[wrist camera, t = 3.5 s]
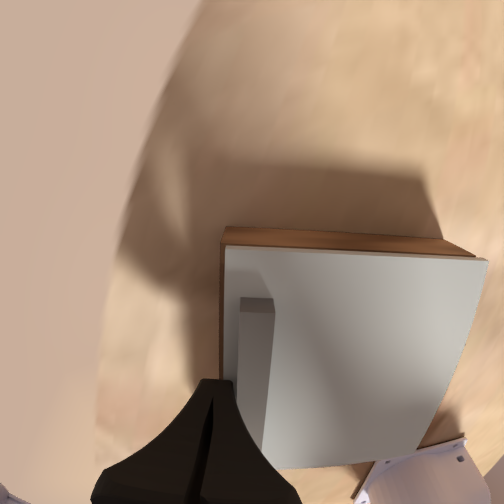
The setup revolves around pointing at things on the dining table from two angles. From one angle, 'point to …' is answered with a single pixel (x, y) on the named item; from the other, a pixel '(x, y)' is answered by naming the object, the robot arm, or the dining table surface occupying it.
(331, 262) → the lid
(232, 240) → the box
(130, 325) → the dining table surface
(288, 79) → the dining table surface
